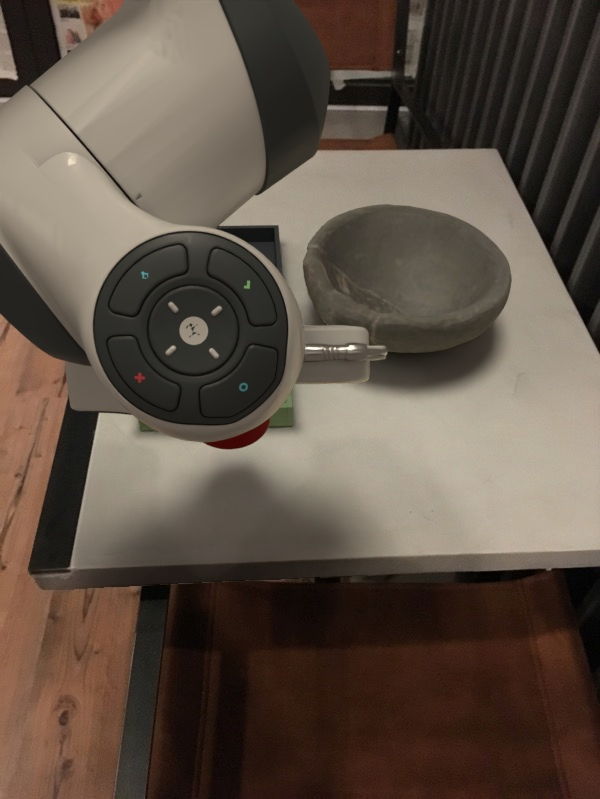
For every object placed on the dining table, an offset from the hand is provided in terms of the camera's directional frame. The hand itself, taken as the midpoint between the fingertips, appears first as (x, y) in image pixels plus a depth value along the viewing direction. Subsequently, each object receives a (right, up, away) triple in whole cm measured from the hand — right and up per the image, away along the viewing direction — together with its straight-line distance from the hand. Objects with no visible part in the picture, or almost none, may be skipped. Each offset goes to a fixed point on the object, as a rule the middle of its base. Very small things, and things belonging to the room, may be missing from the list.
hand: (226, 363), depth 54 cm
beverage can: (0, -5, +5) cm, 7 cm away
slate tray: (-4, +13, +33) cm, 35 cm away
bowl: (+17, +6, +27) cm, 33 cm away
